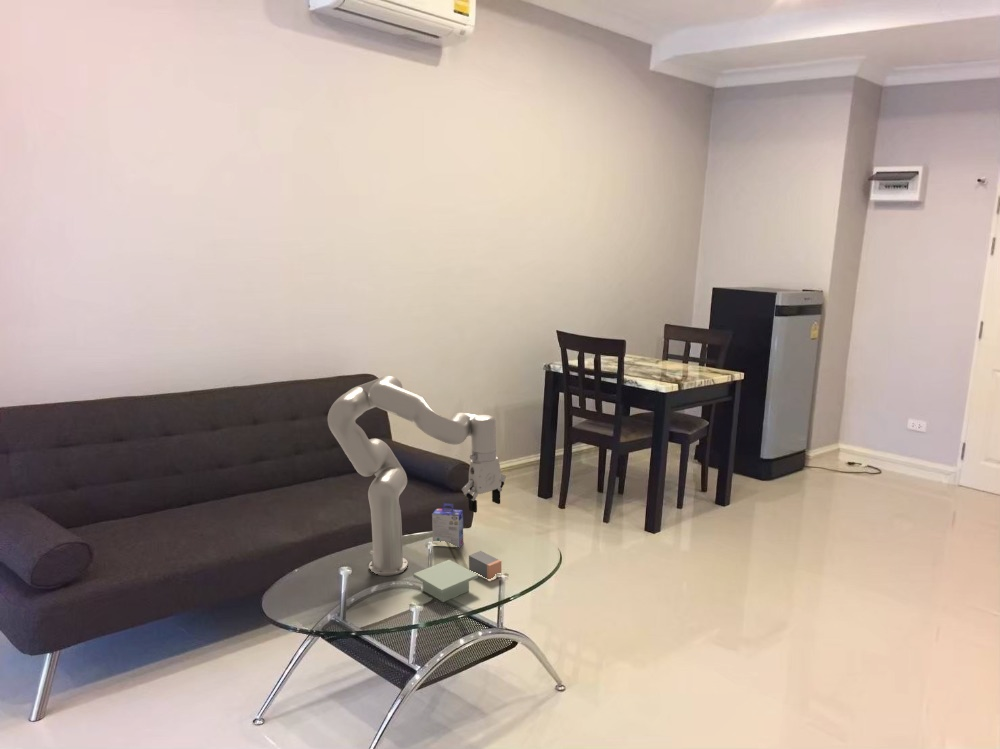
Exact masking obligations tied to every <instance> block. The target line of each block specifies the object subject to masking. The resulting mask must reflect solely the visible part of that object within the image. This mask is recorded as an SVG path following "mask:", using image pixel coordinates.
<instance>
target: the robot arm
mask: <svg viewBox="0 0 1000 749" xmlns="http://www.w3.org/2000/svg"><path fill="white" fill-rule="evenodd" d="M375 408H377V409H380V410H383V411H385V412H387V413H390V414H392V415H395V416H397V417H399V418H402V419H403V420H407V421H408V422H411V423H412V424H413V425H414V426H415V427H417V428H418V429H419V430H421V432H423V433H424V434H425V435H427V436H429V437H431V438H433V439H436V440H438V441H440V442H443V443H445V444H448V445H452V446H453V445H454V446H455V445H456V446H457V445H460V444H462V443H463V442H465V441H466V440H467V438H468V437H470V438H471V455H470V456H469V459H470V463H469V470H468V482H467V483H466V484H465V485H464V486H463V487H462V488H461V491H462V492H463V496H465V498H466V499H468V510H469V511H470V512H472V513H477V512H478V500H477V497H478V495H483V494H486V493H489V492H491V498H492V499H491V501H492V503H495V504H497V505H500V504H501V492H502V491H503V488H504V487H503V486H504V485H505V482H506V478H507V475H505V474H502V472H501V464H500V460H499V458H498V456H497V426H496V425H497V422H496V419H495V417H494V416H493V415H488V414H472V413H468V412H456V413H455V414H453V415H452V416H451V417H450V418H448V417H445V416H442V415H440V414H438V413H437V412H435V411H434V410H432V408H431V407H430V406H429V405H428V403H427V401H426V399H425V398H424V397H423V396H422V395H419V394H417V393H415V392H412V391H409V390H407V389H405V388H403V384H402V382H401V381H400V380H399V379H398V378H397V377H395V376H392V375H385V376H381V377H378V378H376V379H374V380H371V381H368V382H366V383H363V384H359V385H356V386H355V387H352V388H351V389H349V390H348V391H347V392H345V393H343V394H342V395H340V396H339V397H338V398H337V399H336V400H335V401H334V402H333V404H332V405H331V407H330V408H329V411H328V414H327V425H328V428H329V430H330V432H331V434H332V435H333V436H334V438H335V439H336V441H337V442H338V444H339V445H340V447H341V449H342V450H343V452H344V454H345V455H346V457H347V458H348V460H349V461H350V463H351V464H352V466H353V467H354V470H356V472H357V473H358V474H359V475H361V476H362V477H365V478H366V477H372V476H375V478H374V479H373V480H372V481H371V484H370V485H369V487H368V491H367V496H368V502H369V508H370V519H371V520H370V521H371V536H372V539H371V540H372V549H371V550H369V553H368V554H370V555H371V556H372V560H371V561H370V562H369V563H368V569H369V568H370V569H371V571H373V572H374V573H377V574H378V575H377V576H382V577H383V576H385V577H387V576H388V577H389V576H395V575H399V574H401V573H403V572H405V571H406V570H407V569H408V567H407V566H409V563H408V560H407V559H406V558H404V556H403V554H404V553H403V552H404V551H403V531H402V530H403V528H402V526H403V525H402V511H401V507H400V501H399V500H400V499H399V498H400V495H401V494H402V493H403V491H404V490H405V488H407V487H406V486H407V484H408V477H407V476H408V475H407V473H406V471H405V469H404V468H403V466H402V465H401V463H400V461H399V460H398V458H397V457H396V455H395V454H394V452H393V450H392V449H391V448H390V446H389V445H388V444H387V443H386V442H385V441H383V440H382V439H380V438H370V439H369V438H368V435H367V434H366V432H365V430H363V428H362V427H361V426H359V424H358V423H356V421H357V419H358V418H360V416H362V415H363V414H364V413H366V411H369V410H371V409H375ZM406 568H407V569H406ZM405 569H406V570H405ZM404 570H405V571H404ZM371 571H370V572H371ZM374 573H373V574H374Z"/></svg>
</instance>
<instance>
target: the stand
mask: <svg viewBox="0 0 1000 749" xmlns="http://www.w3.org/2000/svg"><path fill="white" fill-rule="evenodd" d="M413 578H415V579H417V580H418V581H420V582H421V583H422V591H424V592H425V593H427V594H429V595H430V596H432V597H433V598H436V599H437V600H439V601H440V602H442V603H445V602H447V601H450V600H452V599H454V598H457V597H458V596H461V595H464V594H466V593H467V592H469V591H470V581H474V580H476V579H478V578H479V576H478V574H476V573H474V572H472V571H470V570H469V568H466V567H464V566H463V565H460V564H459V563H457V562H455V561H453V560H452V559H447V560H444V561H442V562H439V563H437V564H434V565H433V566H432V565H431V566H428V567H427V568H425V569H422V570H420V571H417V572H414V573H413Z"/></svg>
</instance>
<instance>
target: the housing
mask: <svg viewBox="0 0 1000 749" xmlns="http://www.w3.org/2000/svg"><path fill="white" fill-rule="evenodd" d="M468 570H471V571H473V572H476V573H478V574H480V575H482V576H483V577H485V578H487V579H491V578H493V577H494V576H495V574H497V573H501V574H502V560H501V559H498V558H496V557H494V556H493V555H491V554H488V553H486V552H484V551H482V550H479V551H477V552H474V553H471V554H468Z"/></svg>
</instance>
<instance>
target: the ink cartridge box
mask: <svg viewBox="0 0 1000 749" xmlns="http://www.w3.org/2000/svg"><path fill="white" fill-rule="evenodd" d="M447 506H449V507H451V508H449V507H447ZM463 512H464V511H463V510H462V509H454V503H445V502H443V506H442V508H436V509H435V510H434V511H433V513H431V517H432V518H431V520H432V522H431V525H432V526H431V527H432V542H433V541H440V542H441V541H445V542H449V543H451V544H453V545H455V546H457V547H459V548H458V549H460V548H461V547H462V545H463V544H464V514H463Z"/></svg>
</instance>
